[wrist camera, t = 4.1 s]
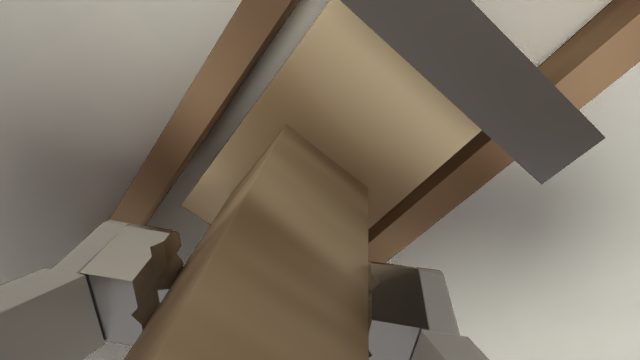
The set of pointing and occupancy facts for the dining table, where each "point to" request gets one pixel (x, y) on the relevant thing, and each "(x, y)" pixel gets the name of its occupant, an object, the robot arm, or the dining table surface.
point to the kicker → (346, 174)
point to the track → (433, 193)
